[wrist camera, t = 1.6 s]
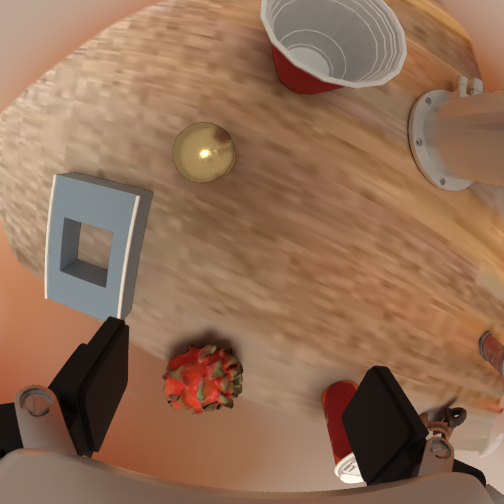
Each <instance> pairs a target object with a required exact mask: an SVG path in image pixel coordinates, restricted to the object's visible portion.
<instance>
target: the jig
mask: <svg viewBox="0 0 504 504" xmlns="http://www.w3.org/2000/svg"><path fill="white" fill-rule="evenodd" d="M152 195H153V192H151V191H147V190H144V189H140V188H136V187H132V186H128V185H124V184H120V183H117V182H113V181H109V180H105V179H101V178H97V177H92V176H88V175H84V174H80V173H76V172H73V173H63V174H54V178H53V184H52V191H51V198H50V205H49V214H48V223H47V235H46V251H45V298H46V299H47V298H49V299H52V300H54V301H56V302H59V303H61V304H63V305H66V306H68V307H70V308H73V309H76V310H78V311H80V312H83V313H85V314H88V315H90V316H93V317H96V318H98V319H101V320H103V321H106V319H107V318H108V317H109V316H112V317H115V318H118V319H122V320H125V318H126V317H127V315H128V314H129V312H130V311H131V309H132V302H133V294H134V288H135V281H136V275H137V269H138V263H139V257H140V252H141V246H142V241H143V236H144V231H145V226H146V222H147V217H148V213H149V208H150V204H151V200H152ZM81 223H85V224H88V225H91V226H94V227H97V228H101V229H104V230H107V231H111V232H113V238H112V244H111V251H110V258H109V266H108V270H105V269H102V268H99V267H96V266H93V265H91V264H88V263H85V262H82V261H79V260H77V254H78V244H79V235H80V227H81Z"/></svg>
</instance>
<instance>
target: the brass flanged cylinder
mask: <svg viewBox="0 0 504 504" xmlns="http://www.w3.org/2000/svg"><path fill="white" fill-rule="evenodd" d="M172 157H173V162H174V165H175V167H176V169H177V170H178V172H179V173H180V174H181V175H182V176H183V177H185V178H186V179H188V180H190V181H193V182H196V183H208V182H212V181H214V180H217V179H219V178H220V177H222V176H224V175H226V174H227V173H228V172H229V171H230V170H231V169H232V167H233V165H234V163H235V158H236V155H235V150H234V146H233V142H232V140H231V138H230V136H229V135H228V133H227V132H226V131H225V130H224V129H223V128H221V127H220V126H218V125H216V124H213V123H207V122H202V123H196V124H193V125H191V126H189V127H187V128H185V129H184V130H183V131H182V132H181V133H180V134H179V135H178V137H177V138H176V140H175V143H174V146H173V151H172Z"/></svg>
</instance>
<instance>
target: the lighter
mask: <svg viewBox="0 0 504 504" xmlns="http://www.w3.org/2000/svg"><path fill="white" fill-rule="evenodd" d="M479 350H480V353H481V356H482V357H483V359H484V360H485V361H488V362H489V363H490V364H491V365H492V366H493V367H494V368H495V369H496V370H497V371H498V372H499V373H500V374H501V376H502V377H503V379H504V346H503V345H502V344H501V343H500V342H499V341H498V340H496V339H495V338H494V337H493V336H492V334H491V333H490V332H489V331H486V332H484V333H483V334H482V335H481V337H480V339H479Z"/></svg>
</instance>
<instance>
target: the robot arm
mask: <svg viewBox="0 0 504 504" xmlns="http://www.w3.org/2000/svg"><path fill="white" fill-rule="evenodd" d="M467 86H468V79H467V78H466V77H465V76H462V75H459V76H458V81H457V90H455V91H454V92H450V91H447V90H440V89H437V90H433V91H430V92H427V93H425V94H423V95H422V96H421V97H419V99H418V100H417V101H416V103H415V104H414V106H413V108H412V111H411V114H410V118H409V129H408V131H409V142H410V146H411V151H412V154H413V156H414V159H415V162H416V163H417V165H418V167H419V169H420V171H421V172H422V173H423V175H424V176H425V178H426V179H428V180H429V181H430V182H431V183H432V184H433V185H435V186H436V187H438V188H440V189H443V190H446V191H452V192H454V191H461V190H464V189H466V188H467V187H469V186H470V185H471V184H472V183H473V182H478V183H484V184H490V185H495V186H501V187H504V89H503V90H497V91H491V92H485V93H483V87H484V84H483V82H482V81H481V80H480V79H477V78H471V79H470V89H469V91H470V95H468V94H467V93H466V90H467ZM128 344H129V326H128V325H125V321H124V320H122V319H118V318H115V317H112V316H109V317H108V318H107V319H106V321H105V322H104V323H103V325H102V326H101V327H100V329H99V330H98V331H97V332H96V334H95V335H94V336H93V338H92V339H91V340H90V342H89V343H88V344H84V343H83V344H80V345H79V346H78V348H77V349H76V350H75V352H74V353H73V354H72V355H71V357H70V358H69V359H68V361H67V362H66V363H65V365H64V366H63V367H62V369H61V370H60V371H59V373H58V374H57V375H56V377H55V378H54V380H53V381H52V383H51V384H50V385H49V387H48V388H47V387H45V386H41V385H28V386H25V387H23V388H22V389H20V390H19V391H18V392H17V394H16V397H15V402H14V403H7V404H0V504H504V495H503V494H501V493H500V492H499V491H497V490H496V489H495V488H493V487H492V486H490V485H489V484H487V485H486V479H485V476H484V474H483V473H482V472H481V471H480V470H478V469H476V468H474V467H472V466H469V465H467V464H465V463H463V462H460V461H458V460H456V459H454V449H453V447H452V445H451V444H450V443H449V442H448V441H447V440H445V439H444V438H441V437H431V438H430V439H428V440H426V437H427V435H428V434H429V432H428V430H427V428H426V427H425V425H424V423H423V422H422V420H421V418H420V417H419V415H418V414H417V412H416V410H415V409H414V407H413V406H412V404H411V402H410V401H409V399H408V398H407V396H406V395H405V393H404V391H403V390H402V388H401V387H400V385H399V384H398V382H397V381H396V379H395V378H394V376H393V374H392V373H391V371H390V370H389V368H388V367H386V366H373V367H372V368H371V369H369V370H368V371H367V373H366V375H365V376H364V378H363V380H362V382H361V383H360V385H359V387H358V389H357V390H356V392H355V394H354V395H353V397H352V399H351V400H350V402H349V404H348V405H347V407H346V408H345V410H344V412H343V413H342V417H341V420H342V423H343V426H344V429H345V431H346V434H347V437H348V440H349V443H350V445H351V448H352V451H353V454H354V457H355V459H356V462H357V465H358V468H359V471H360V474H361V477H362V479H363V481H365V482H366V484H367V486H366V487H358V488H351V489H342V490H331V491H318V492H317V491H316V492H255V491H241V490H230V489H220V488H212V487H205V486H199V485H193V484H187V483H182V482H177V481H171V480H167V479H163V478H158V477H153V476H149V475H145V474H142V473H138V472H134V471H130V470H127V469H124V468H120V467H117V466H114V465H110V464H106V463H103V462H100V461H97V460H94V459H90V458H91V457H92V454H93V452H94V451H95V452H99V450H100V447H101V445H102V443H103V440H104V438H105V435H106V433H107V431H108V428H109V426H110V423H111V421H112V419H113V416H114V414H115V412H116V409H117V407H118V405H119V402H120V400H121V398H122V395H123V393H124V391H125V389H126V386H127V382H128ZM83 455H85V456H87V457H90V458H86V457H83ZM381 483H382V484H381Z"/></svg>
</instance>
